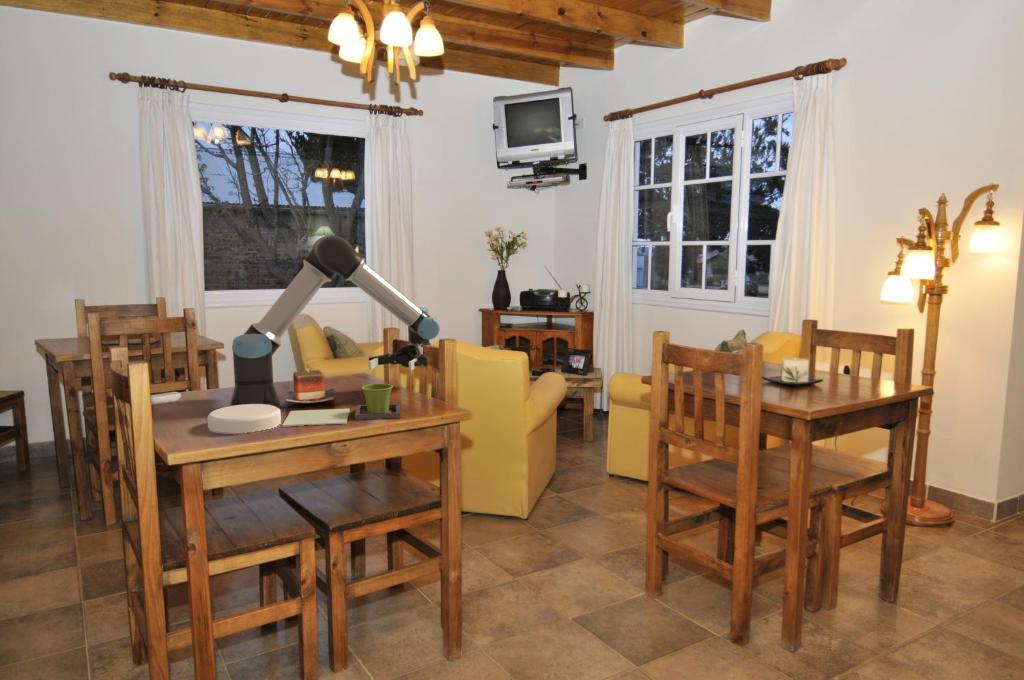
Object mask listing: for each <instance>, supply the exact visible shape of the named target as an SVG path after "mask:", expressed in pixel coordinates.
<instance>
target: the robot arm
mask: <svg viewBox="0 0 1024 680" xmlns="http://www.w3.org/2000/svg"><path fill="white" fill-rule="evenodd" d="M365 261H366V260H365V257H364V256H362V255H361V254H360V253H359V252H358V251H356V249H354V247H352V245H351V244H350V243H349V242H348V241H347V240H346V239H345V238H342V237H340V236H338V235H326V236H323V237H320V238H319V239H317V241H316V242H315V243H313V246H312V249H311V250H310V251H309V252H308V253H307V254H306V256H305V257H304V259H302V262H303V263H302V264H303V267H302V268H301V270H300V271H299V272H298V274H297V275H296V276H295V277H294V278H293V280H292V281H291V282H290V283H289V285H287V287H286V288H285V290H284V291H283V292H282V294H280V296H279V297H277V300H275V302H274V304H273V305H272V306H271V307H270V308H269V310H268V311H267V312H266V313H265V315H264V316H263V317H262V318H261V320H260V321H259V322H255V323H252V324H250V326H249V327H248V328H247V330H246V331H245V332H244V333H243V334H241V335H239V336H235V338H233V340H232V345H231V349H232V355H233V356H232V359H233V374H234V375H233V376H234V377H233V379H234V388H233V392H232V396H231V399H230V402H229V406H235V405H245V404H266V405H272V406H275V407H277V408H279V409H280V408H281V400H280V397H279V394H278V392H277V389H276V387H275V384H274V370H273V369H274V367H273V355H274V354H275V353H276V352H277V350H278V349H279V348H280V347H281V345H282V336H284V334H285V333H286V332H287V330H288V329H289V328H290V326H291V325H292V324H293V322H294V321H295V320H296V319H297V318H298V316H299V315H300V314H301V313H302V311H303V310H305V307H307V305H308V304H309V303H310V301H311V300H312V299H313V298H314V296H315V295H316V294H317V293H318V292H319V290H320V289H321V287H322V286H323V285H324V284H325V283H328V282H329V283H330V282H332V281H333V280H334V278H335V277H336V276H337V275H338V276H339V277H340V278H342V279H343V280H344V281H345V282H346V281H350V282H351V283H353V284H355V286H357V287H358V288H359V289H361V291H363V292H364V293H365V294H367V295H368V296H370V297H371V298H372V299H373V300H374V301H376V302H377V303H378V304H380V305H381V306H382V307H383V308H384V309H386V310H387V312H388V313H391V315H394V317H395V318H397V319H398V320H399V321H400V322H402V323H403V324H405V326H407V333H408V334H407V335H408V338H407V339H408V344H406V345H404V346H402V347H401V348H400V349H399V350H398V352H397V353H391V354H390V353H387V354H382V355H376V356H370V357H368V370H369V371H371V370H374V369H377V367H379V366H382V365H389V364H391V365H400V366H402V367H404V368H408V370H409V371H412V370H414V369H416V368H417V367H422V366H424V367H428V358H426V357H425V354H423V347H421V346H423V345H430V346H432V347H433V345H432V343H431V341H430V340H434V339H436V338H437V336H438V335H439V333H440V330H441V326H440V323H439V321H437V319H436V318H434V317H431V316H430V315H429V310H428V308H427V307H420V306H418V305H417V304H416V303H415V302H414V301H412V300H411V299H410V298H409V297H408V296H406V295H405V294H404V293H402V292H401V291H400V290H399V289H397V288H396V287H395V286H394V285H393V284H392V283H390V282H389V281H388V280H387V279H385V278H384V277H383V276H382V275H381V274H379V272H377V271H376V270H374V268H372V267H371V266H369V265H368V264H367V263H366V262H365ZM409 342H411V343H409ZM420 344H422V345H420Z"/></svg>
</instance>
